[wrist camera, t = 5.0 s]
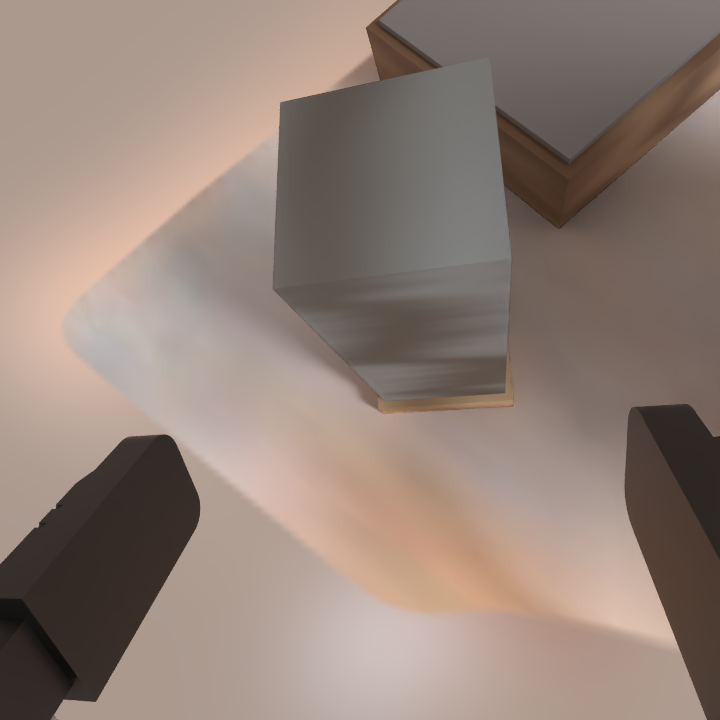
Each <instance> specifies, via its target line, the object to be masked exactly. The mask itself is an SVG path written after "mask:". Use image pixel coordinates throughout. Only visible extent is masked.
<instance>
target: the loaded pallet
mask: <svg viewBox="0 0 720 720" xmlns="http://www.w3.org/2000/svg"><path fill="white" fill-rule="evenodd" d="M511 266H512V255H511V246H510V237H509V228H508V219H507V210H506V201H505V192H504V182H503V173H502V164H501V155H500V146H499V137H498V128H497V119H496V110H495V101H494V92H493V83H492V73H491V64H490V57H487V58H483V59H478V60H473V61H469V62H464V63H460V64H455V65H450V66H446V67H441V68H437V69H432V70H427V71H423V72H418V73H414V74H409V75H404V76H400V77H395V78H391V79H386V80H381V81H377V82H372V83H368V84H363V85H358V86H354V87H349V88H345V89H340V90H335V91H331V92H326V93H322V94H317V95H312V96H308V97H303V98H299V99H294V100H290V101H285V102H281V103H280V125H279V150H278V174H277V199H276V223H275V247H274V272H273V290H274V291H275V292H276V293H277V294H278V295H279V296H280V297H281V298H282V299H283V300H284V301H285V302H286V303H287V304H288V305H289V306H290V307H291V308H292V309H293V310H294V311H295V312H296V313H297V314H298V315H299V316H300V317H301V318H302V319H303V320H304V321H305V322H306V323H307V324H308V325H309V326H310V327H311V328H312V329H313V330H314V331H315V332H316V333H317V334H318V335H319V336H320V337H321V338H322V339H323V340H324V341H325V342H326V343H327V344H328V345H329V346H330V347H331V348H332V349H333V350H334V351H335V352H336V353H337V354H338V355H339V356H340V357H341V358H342V359H343V360H344V361H345V362H346V363H347V364H348V365H349V366H350V367H351V368H352V369H353V370H354V371H355V372H356V373H357V374H358V375H359V376H360V377H361V378H362V379H363V380H364V381H365V382H366V383H367V384H368V385H369V386H370V387H371V388H372V389H373V390H374V391H375V392H376V393H377V394H378V409H379V410H380V411H381V412H382V413H383V414H390V413H406V412H422V411H439V410H455V409H471V408H487V407H504V406H513V401H514V399H513V389H512V380H511V370H510V360H509V350H508V327H509V306H510V286H511Z"/></svg>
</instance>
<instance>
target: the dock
mask: <svg viewBox="0 0 720 720" xmlns="http://www.w3.org/2000/svg"><path fill="white" fill-rule="evenodd" d="M366 30H367V33H368V37H369V41H370V44H371V48H372V52H373V55H374V59H375V63H376V66H377V70H378V74H379V77H380V81H381V80H386V79H391V78H395V77H400V76H404V75H409V74H414V73H418V72H423V71H427V70H432V69H437V68H441V67H446V66H450V65H455V64H460V63H464V62H469V61H473V60H478V59H483V58H487V57H490V64H491V73H492V83H493V92H494V101H495V110H496V119H497V128H498V137H499V146H500V155H501V164H502V173H503V182H504V185H505V186H506V187H507V188H509V189H510V190H511V191H512V192H514V193H515V194H516V195H517V196H519V197H520V198H521V199H522V200H524V201H525V202H526V203H527V204H528V205H530V206H531V207H532V208H533V209H535V210H536V211H537V212H538V213H540V214H541V215H542V216H543V217H545V218H546V219H547V220H548V221H550V222H551V223H552V224H553V225H555V226H556V227H557V228H558V229H559V228H560V227H561V226H563V225H564V224H565V223H566V222H567V221H568V220H569V219H571V218H572V217H573V216H574V215H575V214H576V213H578V212H579V211H580V210H581V209H582V208H583V207H584V206H586V205H587V204H588V203H589V202H590V201H591V200H593V199H594V198H595V197H596V196H597V195H598V194H599V193H601V192H602V191H603V190H604V189H605V188H606V187H608V186H609V185H610V184H611V183H612V182H613V181H614V180H616V179H617V178H618V177H619V176H620V175H621V174H623V173H624V172H625V171H626V170H627V169H628V168H629V167H631V166H632V165H633V164H634V163H635V162H636V161H638V160H639V159H640V158H641V157H642V156H643V155H644V154H646V153H647V152H648V151H649V150H650V149H651V148H653V147H654V146H655V145H656V144H657V143H658V142H659V141H661V140H662V139H663V138H664V137H665V136H666V135H668V134H669V133H670V132H671V131H672V130H673V129H674V128H676V127H677V126H678V125H679V124H680V123H681V122H683V121H684V120H685V119H686V118H687V117H688V116H689V115H691V114H692V113H693V112H694V111H695V110H696V109H698V108H699V107H700V106H701V105H702V104H703V103H704V102H706V101H707V100H708V99H709V98H710V97H711V96H713V95H714V94H715V93H716V92H717V91H718V90H719V89H720V0H397V1H396V2H395V3H394V4H392V5H391V6H390V7H389V8H388V9H387V10H386V11H384V12H383V13H382V14H381V15H380V16H379V17H378V18H376V19H375V20H374V21H373V22H372V23H371V24H370V25H369V26H367V27H366Z"/></svg>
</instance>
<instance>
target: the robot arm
mask: <svg viewBox="0 0 720 720" xmlns="http://www.w3.org/2000/svg"><path fill="white" fill-rule="evenodd" d="M625 499H626V506H627V511H628V515H629V519H630V522H631V525H632V528H633V530H634V533H635V536H636V538H637V541H638V543H639V546H640V548H641V551H642V554H643V556H644V559H645V561H646V564H647V566H648V569H649V572H650V574H651V577H652V579H653V582H654V584H655V587H656V590H657V592H658V595H659V597H660V600H661V603H662V605H663V608H664V610H665V613H666V615H667V618H668V621H669V623H670V626H671V628H672V631H673V633H674V636H675V639H676V641H677V644H678V646H679V649H680V651H681V654H682V657H683V659H684V661H685V664H686V667H687V669H688V672H689V675H690V677H691V679H692V682H693V685H694V687H695V690H696V693H697V695H698V698H699V700H700V703H701V705H702V708H703V710H704V713H705V716H706V718H707V720H720V436H719V437H713V436H712V435H711V433H710V432H709V430H708V429H707V428H706V426H705V425H704V423H703V422H702V421H701V419H700V418H699V416H698V415H697V414H696V412H695V411H694V409H693V408H692V407H691V406H690V405H688V404H678V405H662V406H645V407H633V408H631V410H630V413H629V418H628V433H627V450H626V468H625ZM199 516H200V500H199V496H198V493H197V491H196V489H195V486H194V484H193V482H192V479H191V477H190V475H189V472H188V470H187V468H186V466H185V463H184V461H183V458H182V456H181V454H180V451H179V449H178V447H177V445H176V443H175V441H174V440H173V439H172V438H171V437H170V436H168V435H149V436H133V437H127V438H125V439H124V440H122V441H121V442H120V443H119V444H118V446H117V447H116V448H115V449H114V450H113V451H112V452H111V453H110V454H109V455H108V456H107V458H106V459H105V460H104V461H103V462H102V463H101V464H100V465H99V466H98V467H97V468H96V469H95V470H94V471H93V472H91V473H90V474H88V475H87V476H86V477H84V478H83V479H81V480H80V481H79V482H77V483H76V484H75V485H74V486H73V487H72V488H71V489H70V490H69V491H68V493H67V494H66V495H65V496H64V497H63V498H62V499H61V500H60V501H59V502H58V503H57V504H56V509H52V510H51V511H50V512H49V513H48V514H47V515H46V516H45V517H44V518H43V519H42V520H41V521H40V523H39V527H38V528H34V529H33V530H32V531H31V532H30V533H29V534H28V535H27V537H25V538H24V540H23V541H22V542H21V543H20V544H19V545H18V546H17V547H16V548H15V549H14V550H13V552H11V554H9V556H8V557H7V558H6V559H5V560H4V561H3V562H2V563H1V564H0V720H58V719H57V718H56V717H55V716H54V714H55V712H56V711H57V709H58V707H59V706H60V704H61V703H62V701H63V699H65V700H78V701H91V702H96V701H97V699H98V697H99V695H100V694H101V692H102V690H103V689H104V687H105V685H106V683H107V682H108V680H109V678H110V676H111V674H112V673H113V671H114V669H115V668H116V666H117V664H118V663H119V661H120V659H121V657H122V655H123V654H124V652H125V650H126V649H127V647H128V645H129V644H130V642H131V640H132V638H133V637H134V635H135V633H136V631H137V630H138V628H139V626H140V624H141V623H142V621H143V619H144V617H145V616H146V614H147V612H148V610H149V609H150V607H151V605H152V604H153V602H154V600H155V598H156V597H157V595H158V593H159V591H160V590H161V588H162V586H163V585H164V583H165V581H166V579H167V578H168V576H169V574H170V572H171V571H172V569H173V567H174V566H175V564H176V562H177V560H178V558H179V557H180V555H181V553H182V552H183V550H184V548H185V546H186V545H187V543H188V541H189V540H190V538H191V536H192V534H193V533H194V531H195V529H196V527H197V524H198V521H199Z"/></svg>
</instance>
